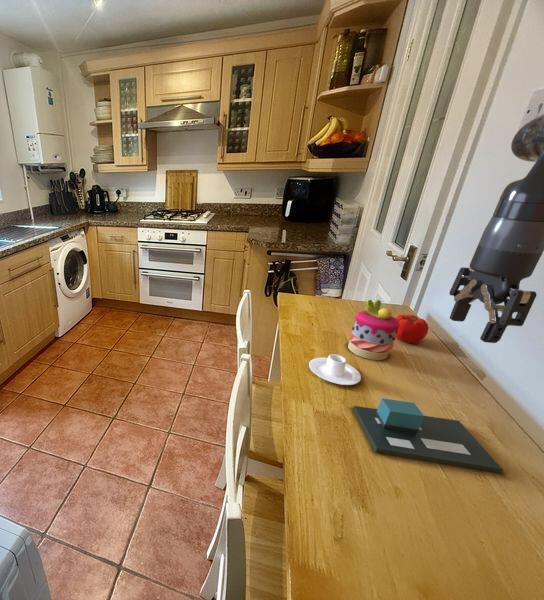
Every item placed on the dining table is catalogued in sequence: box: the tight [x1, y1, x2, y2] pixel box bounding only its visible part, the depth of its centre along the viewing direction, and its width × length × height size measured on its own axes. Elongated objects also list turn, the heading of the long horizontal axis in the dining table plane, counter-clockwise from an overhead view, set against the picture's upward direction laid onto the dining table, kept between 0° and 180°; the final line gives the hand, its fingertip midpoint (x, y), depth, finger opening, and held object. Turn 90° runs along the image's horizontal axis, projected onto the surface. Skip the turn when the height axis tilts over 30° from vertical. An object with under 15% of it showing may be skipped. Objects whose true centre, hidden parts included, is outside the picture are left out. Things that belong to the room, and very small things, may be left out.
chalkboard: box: [352, 405, 504, 474], centre depth 64 cm, size 20×12×1 cm, turn 77°
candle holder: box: [308, 353, 362, 386], centre depth 83 cm, size 12×12×4 cm
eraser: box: [376, 397, 426, 433], centre depth 65 cm, size 6×4×4 cm, turn 77°
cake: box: [347, 299, 400, 361], centre depth 91 cm, size 10×11×15 cm
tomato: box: [394, 313, 429, 344], centre depth 99 cm, size 9×9×8 cm
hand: (471, 330), depth 60 cm, fingers open, 8 cm apart
